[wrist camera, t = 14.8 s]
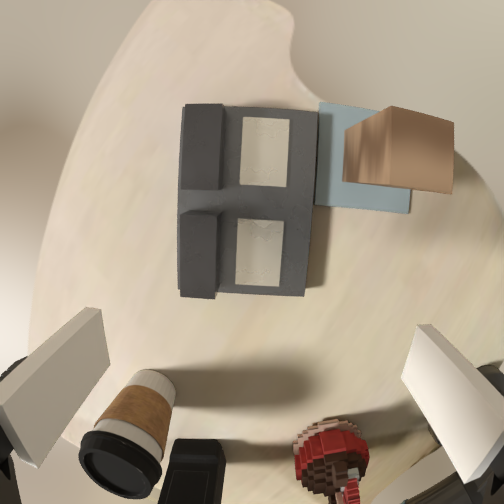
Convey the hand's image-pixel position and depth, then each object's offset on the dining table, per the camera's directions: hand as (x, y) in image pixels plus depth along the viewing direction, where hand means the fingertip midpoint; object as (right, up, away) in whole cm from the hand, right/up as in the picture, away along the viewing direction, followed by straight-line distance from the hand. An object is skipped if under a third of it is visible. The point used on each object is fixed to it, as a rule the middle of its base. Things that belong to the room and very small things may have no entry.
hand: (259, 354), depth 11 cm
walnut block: (+11, +13, +15) cm, 23 cm away
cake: (+10, -22, +24) cm, 34 cm away
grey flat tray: (-1, +9, +17) cm, 19 cm away
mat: (+11, +13, +16) cm, 23 cm away
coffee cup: (-13, -13, +23) cm, 29 cm away
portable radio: (-8, -25, +25) cm, 37 cm away
